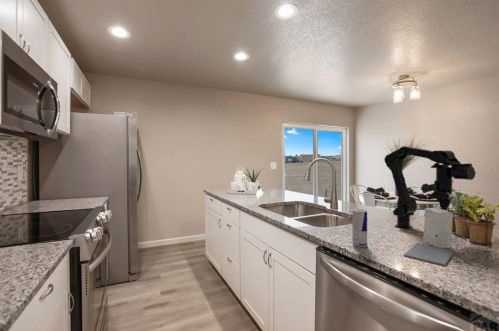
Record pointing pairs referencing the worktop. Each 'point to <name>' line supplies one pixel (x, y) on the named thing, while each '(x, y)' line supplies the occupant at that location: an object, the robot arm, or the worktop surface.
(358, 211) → the beverage can
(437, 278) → the worktop surface
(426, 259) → the mat
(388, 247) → the worktop surface
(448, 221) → the skincare box
